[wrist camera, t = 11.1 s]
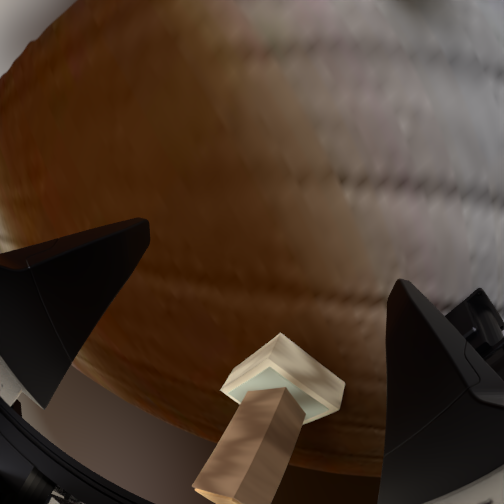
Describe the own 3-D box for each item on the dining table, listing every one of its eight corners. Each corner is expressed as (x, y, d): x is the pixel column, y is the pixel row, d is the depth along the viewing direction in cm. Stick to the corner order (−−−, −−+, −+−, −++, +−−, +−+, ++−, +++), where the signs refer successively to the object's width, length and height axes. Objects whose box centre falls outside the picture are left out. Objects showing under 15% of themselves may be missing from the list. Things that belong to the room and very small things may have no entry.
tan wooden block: (285, 386, 26) (232, 499, 15) (306, 414, 27) (263, 517, 16) (247, 391, 29) (190, 488, 18) (269, 416, 30) (222, 508, 19)
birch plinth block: (345, 382, 29) (339, 411, 25) (291, 409, 34) (281, 433, 31) (280, 332, 29) (267, 359, 25) (233, 368, 34) (219, 391, 31)
